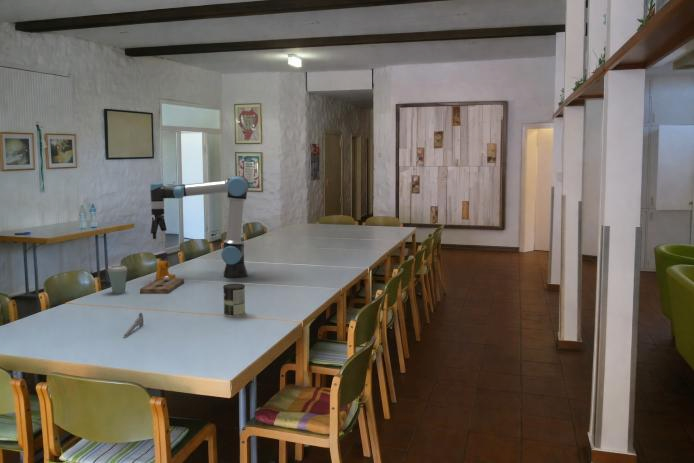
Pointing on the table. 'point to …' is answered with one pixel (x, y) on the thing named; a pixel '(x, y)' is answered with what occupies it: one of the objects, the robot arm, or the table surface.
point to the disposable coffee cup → (117, 278)
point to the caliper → (137, 322)
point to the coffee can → (234, 300)
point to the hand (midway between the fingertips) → (159, 242)
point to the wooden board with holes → (162, 286)
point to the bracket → (163, 270)
